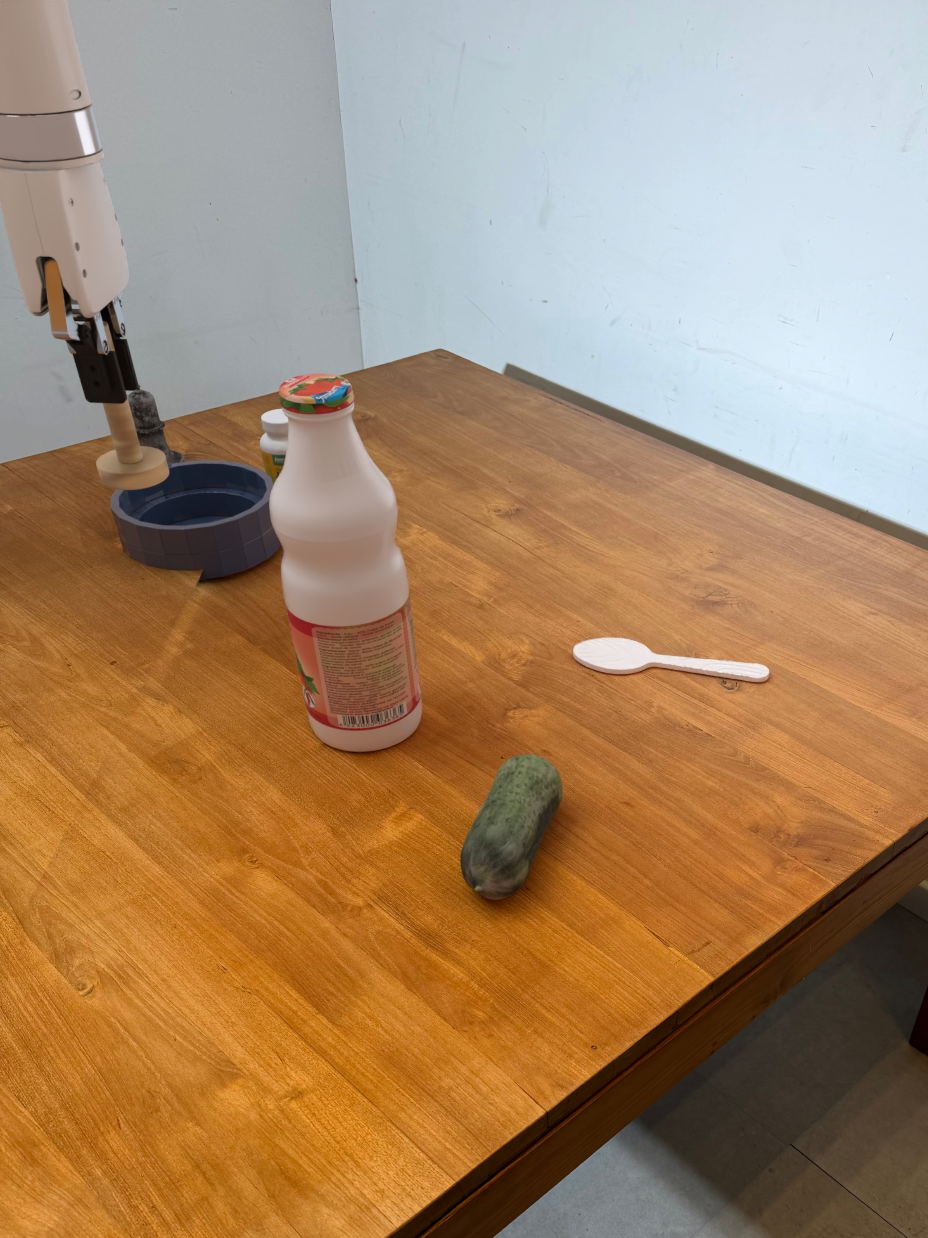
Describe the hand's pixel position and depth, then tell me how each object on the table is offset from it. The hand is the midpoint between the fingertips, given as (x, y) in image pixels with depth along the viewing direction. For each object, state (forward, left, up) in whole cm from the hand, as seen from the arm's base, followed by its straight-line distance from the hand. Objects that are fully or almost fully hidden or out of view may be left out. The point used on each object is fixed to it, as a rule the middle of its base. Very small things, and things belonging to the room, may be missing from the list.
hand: (112, 393), depth 92 cm
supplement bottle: (+7, +25, -21) cm, 33 cm away
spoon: (+47, -7, -21) cm, 52 cm away
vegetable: (+34, -32, -21) cm, 51 cm away
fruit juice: (+21, -16, -21) cm, 34 cm away
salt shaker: (-8, +27, -21) cm, 35 cm away
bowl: (0, +14, -21) cm, 25 cm away
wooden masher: (0, 0, -7) cm, 7 cm away
